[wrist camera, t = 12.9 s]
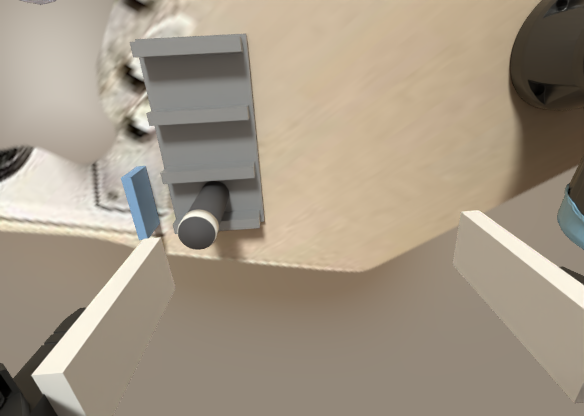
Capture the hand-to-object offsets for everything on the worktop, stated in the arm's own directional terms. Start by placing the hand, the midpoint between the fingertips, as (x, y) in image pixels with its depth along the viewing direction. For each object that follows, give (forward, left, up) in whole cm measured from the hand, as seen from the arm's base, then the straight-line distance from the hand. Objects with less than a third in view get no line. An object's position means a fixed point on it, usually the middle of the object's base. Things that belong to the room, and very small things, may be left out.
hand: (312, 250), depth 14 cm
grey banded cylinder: (+11, +8, -31) cm, 33 cm away
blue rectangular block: (+21, +8, -32) cm, 39 cm away
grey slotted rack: (+11, +1, -32) cm, 33 cm away
